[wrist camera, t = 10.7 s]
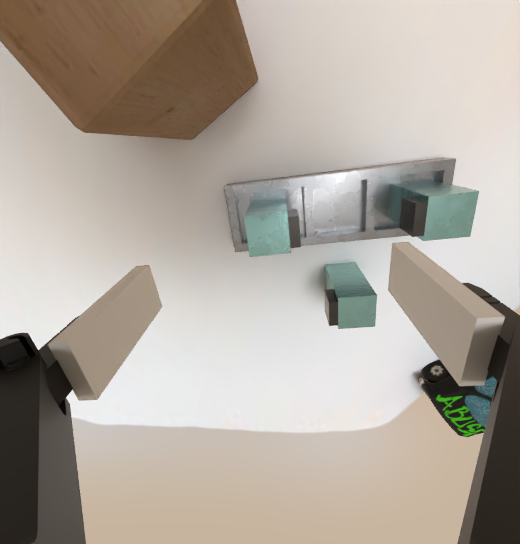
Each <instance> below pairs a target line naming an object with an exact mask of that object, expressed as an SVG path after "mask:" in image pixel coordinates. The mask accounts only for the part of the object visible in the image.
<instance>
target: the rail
mask: <svg viewBox="0 0 520 544" xmlns="http://www.w3.org/2000/svg"><path fill="white" fill-rule="evenodd" d="M455 162H456V159H454V158H437V159H428V160H420V161H412V162H404V163H396V164H388V165H380V166H372V167H364V168H355V169H347V170H339V171H331V172H323V173H315V174H307V175H299V176H290V177H282V178H274V179H266V180H258V181H250V182H242V183H234V184H227V185H226V186H225V187H224V190H225V195H226V201H227V207H228V213H229V219H230V225H231V231H232V236H233V242H234V248H235V252H241V251H249V248H248V241H247V234H246V228H245V221H244V215H245V213H246V211H247V209H248V207H249V205H250V203H251V200H252V199H257V198H266V197H274V196H283V195H285V198H286V205H287V210H291V209H297V211H298V215H299V225H300V240H301V246H304V245H314V244H324V243H335V242H345V241H355V240H366V239H376V238H387V237H397V236H407V235H411V236H412V237H415V236H417V237H418V238H420V239H421V240H423V241H427V240H438V239H449V238H459V237H470V234H471V229H472V224H473V219H474V214H475V209H476V204H477V199H478V194H479V191H477V190H472V189H468V188H463V187H459V186H455V185H452V181H453V175H454V168H455Z"/></svg>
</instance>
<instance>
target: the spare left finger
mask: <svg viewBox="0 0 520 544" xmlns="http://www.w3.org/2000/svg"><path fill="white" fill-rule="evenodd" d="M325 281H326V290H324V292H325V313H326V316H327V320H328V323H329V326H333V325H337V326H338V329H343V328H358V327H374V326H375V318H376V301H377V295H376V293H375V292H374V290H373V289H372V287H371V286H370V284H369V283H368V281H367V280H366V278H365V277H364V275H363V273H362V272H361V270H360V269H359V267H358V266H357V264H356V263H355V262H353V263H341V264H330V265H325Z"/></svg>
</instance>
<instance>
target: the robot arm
mask: <svg viewBox="0 0 520 544" xmlns="http://www.w3.org/2000/svg"><path fill="white" fill-rule="evenodd" d="M388 291H389V292H390V293H391V295H392V296H393V297H394V299H395V300H396V301H397V303H398V304H399V305H400V307H401V308H402V309H403V311H404V312H405V314H406V315H407V316H408V318H409V319H410V320H411V322H412V323H413V324H414V326H415V327H416V328H417V330H418V331H419V332H420V334H421V335H422V336H423V338H424V339H425V340H426V342H427V343H428V345H429V346H430V347H431V349H432V350H433V351H434V353H435V354H436V355H437V357H438V358H439V359H440V361H441V362H442V363H443V365H444V366H445V367H446V369H447V370H448V371H449V373H450V374H451V375H452V377H453V378H454V380H455V381H456V382H457V384H458V385H459V386H481V385H484V384H485V380H486V377H487V374H488V371H489V373H490V374H491V375H492V376H493V377H494V378H495V379H496V380H497V383H496V386H495V389H494V392H493V395H492V398H491V401H490V404H489V406H490V410H489V414H488V419H487V423H486V427H485V431H484V435H483V439H482V444H481V448H480V452H479V456H478V461H477V465H476V469H475V473H474V477H473V482H472V485H471V490H470V494H469V498H468V502H467V507H466V511H465V515H464V519H463V523H462V527H461V531H460V536H459V540H458V544H520V315H518V314H517V313H515V312H514V311H513V310H511V309H510V308H508V307H507V306H506V305H504V304H503V303H500V301H499V300H497V299H496V298H495V297H492V295H490V294H489V293H488V292H486V291H485V290H483V289H482V288H480V287H477V286H475V285H472V284H470V283H461V282H459V281H458V280H457V279H455V278H454V277H453V276H452V275H450V274H449V273H448V272H446V271H445V270H444V269H443V268H441V267H440V266H439V265H437V264H436V263H435V262H433V261H432V260H431V259H430V258H428V257H427V256H426V255H424V254H423V253H422V252H420V251H419V250H418V249H417V248H415V247H414V246H413V245H411V244H410V243H409V242H400V243H392V252H391V263H390V275H389V286H388ZM161 308H162V304H161V301H160V298H159V295H158V291H157V288H156V285H155V282H154V279H153V276H152V273H151V269H150V266H149V265H144V266H136V267H135V268H134V269H133V270H131V271H130V272H129V273H128V274H127V275H126V276H125V277H123V278H122V279H121V280H120V281H119V282H118V283H117V284H115V285H114V286H113V287H112V288H111V289H110V290H109V291H108V292H106V293H105V294H104V295H103V296H102V297H101V298H100V299H98V300H97V301H96V302H95V303H94V304H93V305H92V306H91V307H89V308H88V309H87V310H86V311H85V312H84V313H83V314H81V315H80V316H78V317H77V318H75V319H74V320H73V321H72V322H70V323H69V324H68V325H67V327H65V328H64V329H62V330H61V331H60V333H58V334H57V335H56V336H54V337H53V338H52V339H51V340H50V341H49V342H48V343H46V344H45V345H44V346H43V347H42V348H41V349H40V350H38V349H37V348H36V346H35V344H34V343H33V341H32V339H31V337H30V336H29V334H28V333H18V334H14V335H10V336H7V337H5V338H3V339H0V544H86V541H85V533H84V523H83V515H82V506H81V497H80V489H79V480H78V471H77V463H76V454H75V445H74V437H73V428H72V419H71V411H70V404H69V402H68V400H67V399H66V397H67V395H68V394H69V393H70V392H71V391H72V389H73V391H74V393H75V394H76V396H77V398H78V400H97V399H98V398H99V396H100V395H101V394H102V392H103V391H104V389H105V388H106V386H107V385H108V384H109V382H110V381H111V379H112V378H113V376H114V375H115V374H116V372H117V371H118V369H119V368H120V366H121V365H122V364H123V362H124V361H125V359H126V358H127V356H128V355H129V354H130V352H131V351H132V349H133V348H134V346H135V345H136V343H137V342H138V341H139V339H140V338H141V336H142V335H143V333H144V332H145V331H146V329H147V328H148V326H149V325H150V323H151V322H152V321H153V319H154V318H155V316H156V315H157V313H158V312H159V311H160V309H161Z"/></svg>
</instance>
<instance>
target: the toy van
mask: <svg viewBox="0 0 520 544" xmlns="http://www.w3.org/2000/svg"><path fill="white" fill-rule="evenodd" d="M423 374H424V377H425V378H426V379H427V380H428V381H429V382H431V383H429V382H426V381H424V380H423V379H422V378H420V379H419V384H420V387H421V388H422V389H423V391H424V392H425V393H426V395H427V396H428V397H429V398H430V399H431V401H432V403H433V404H434V406H435V407H436V409H437V410H438V412H439V413H440V414H441V416H442V417H443V418H444V420H445V421H446V422H447V423H448V424H449V426H451V428H452V429H453V430H454V431H455V432H456V433H457V434H458V435H460V436H464V437H469V436H472V435H476V434H480V433H484V431H485V427H486V423H487V419H488V414H489V410H490V406H489V404H490V401H491V398H492V395H493V392H494V389H495V386H496V383H497V380H496V379H495V378H494V377H493V376H492V375H491V374H490V373H489V371H488V374H487V377H486V380H485V384H484V385H481V386H459V385H458V384H457V382H456V381H455V380H454V378H453V377H452V375H451V374H450V373H449V371H448V370H447V369H446V367H445V366H444V365H443V363H442V362H441V361H440V360H437V361H435V362H432V363H430V364H428V365H426V366H425V367H424V368H423ZM423 386H425V388H424V387H423Z"/></svg>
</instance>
